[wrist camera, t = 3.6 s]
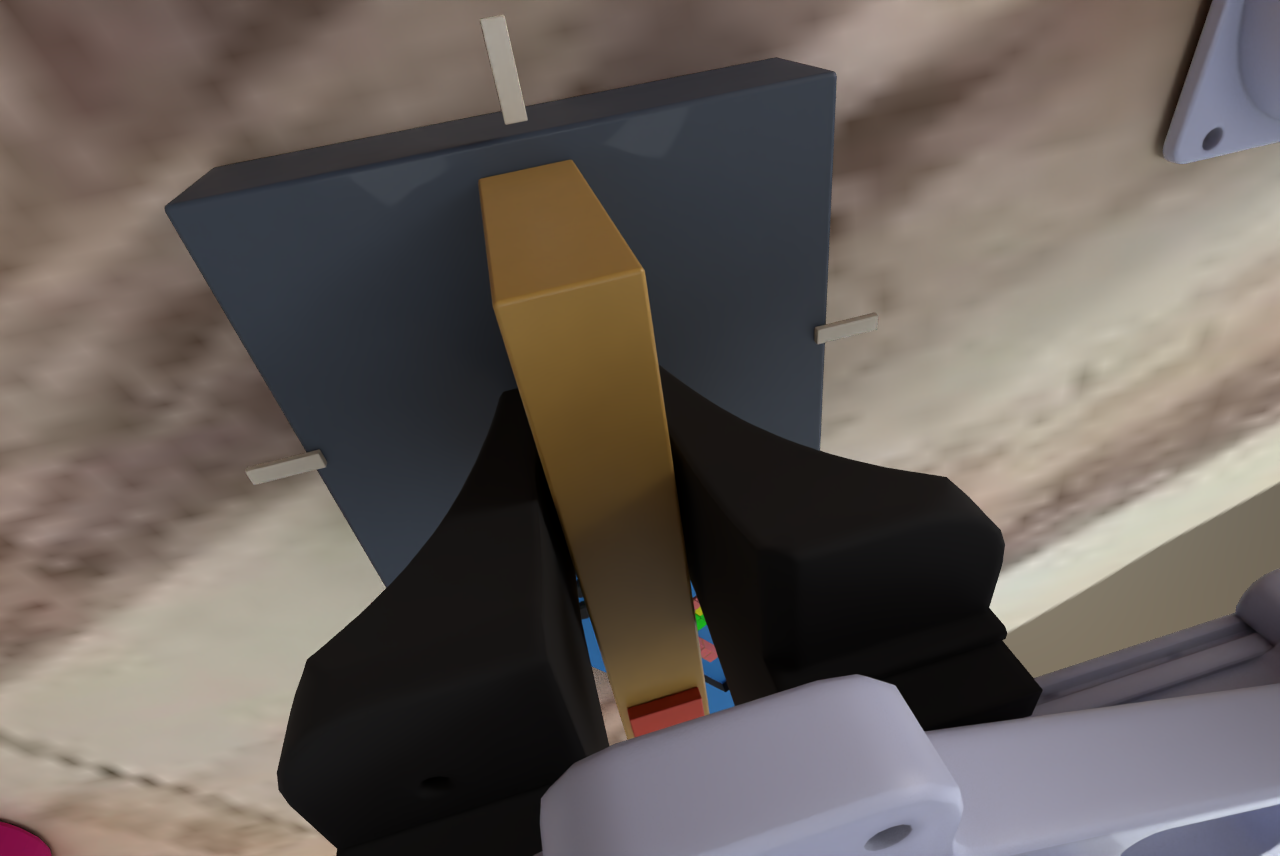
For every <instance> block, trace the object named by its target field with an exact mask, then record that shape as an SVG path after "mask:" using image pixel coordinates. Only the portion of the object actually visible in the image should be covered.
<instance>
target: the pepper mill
mask: <svg viewBox="0 0 1280 856" xmlns="http://www.w3.org/2000/svg"><path fill="white" fill-rule="evenodd" d="M0 856H52V855H51V851H50V848H49V847H48V846H47V845H46V844H45V843H44V842H43V841H42V840H41V839H40V838H39V837H37V836H35V835H33V834H31V833H29V832H27V831H25V830H24V829H22V828H19V827H16V826H14V825H11V824H8V823H4V822H0Z"/></svg>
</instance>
